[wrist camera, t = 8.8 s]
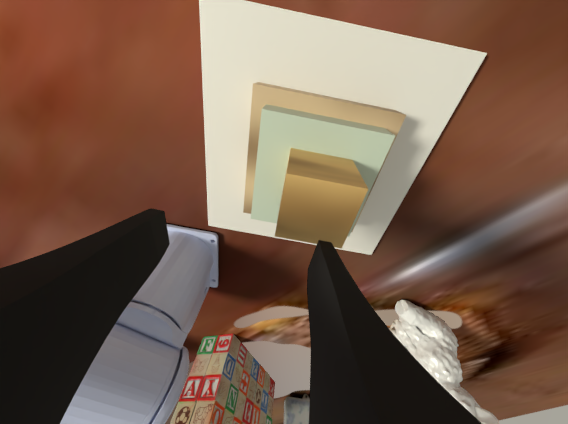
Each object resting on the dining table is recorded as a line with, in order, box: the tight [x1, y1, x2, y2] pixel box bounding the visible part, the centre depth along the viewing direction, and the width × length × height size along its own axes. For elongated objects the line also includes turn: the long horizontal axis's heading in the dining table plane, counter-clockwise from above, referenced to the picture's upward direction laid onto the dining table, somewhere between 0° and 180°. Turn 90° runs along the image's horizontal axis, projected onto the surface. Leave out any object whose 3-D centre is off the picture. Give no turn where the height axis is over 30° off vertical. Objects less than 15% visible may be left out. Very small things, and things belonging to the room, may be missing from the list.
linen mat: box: [199, 0, 487, 255], centre depth 18 cm, size 18×18×1 cm
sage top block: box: [251, 104, 395, 237], centre depth 15 cm, size 8×8×2 cm
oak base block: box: [243, 82, 406, 232], centre depth 17 cm, size 10×10×2 cm
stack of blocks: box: [170, 334, 275, 424], centre depth 37 cm, size 21×6×12 cm, turn 19°
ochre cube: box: [275, 148, 368, 248], centre depth 13 cm, size 4×4×4 cm
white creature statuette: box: [389, 300, 499, 424], centre depth 25 cm, size 10×9×12 cm
